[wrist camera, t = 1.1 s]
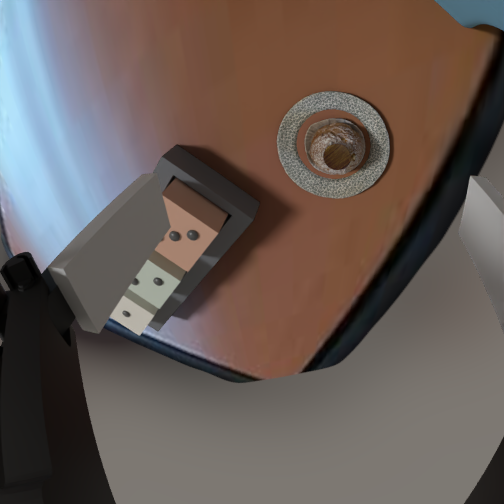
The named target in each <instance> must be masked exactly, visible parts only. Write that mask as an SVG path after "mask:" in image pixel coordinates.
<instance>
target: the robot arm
mask: <svg viewBox="0 0 504 504" xmlns="http://www.w3.org/2000/svg"><path fill="white" fill-rule="evenodd" d="M170 227H171V226H170V222H169V218H168V214H167V211H166V207H165V203H164V199H163V195H162V191H161V187H160V183H159V179H158V175H157V173H152V174H142V175H141V176H140V177H139V178H138V179H136V180H135V181H134V182H133V183H132V184H131V185H130V186H129V187H127V188H126V189H125V190H124V191H123V192H122V193H121V194H120V195H119V196H118V197H116V198H115V199H114V200H113V201H112V202H111V203H110V204H109V205H108V206H107V207H106V208H105V209H104V210H103V211H102V212H100V213H99V214H98V215H97V216H96V217H95V218H94V219H93V220H92V221H91V222H90V223H89V224H88V225H87V226H86V227H85V228H84V229H83V230H82V231H81V232H80V233H79V234H78V235H77V236H76V237H75V238H74V239H73V240H72V241H71V242H70V243H69V245H68V246H67V247H66V248H65V249H64V250H63V251H62V252H61V253H60V254H59V255H58V256H57V257H56V258H55V259H54V261H53V262H52V263H51V264H50V265H49V266H48V267H47V268H46V270H45V271H44V272H43V273H42V274H41V272H40V270H39V269H38V267H37V265H36V263H35V261H34V259H33V257H32V255H31V253H29V252H23V253H20V254H17V255H16V256H14V257H12V258H11V259H10V260H8V261H7V262H6V263H5V264H4V265H3V267H2V269H1V270H0V273H1V274H2V276H3V278H4V280H5V281H6V283H7V285H8V287H9V288H10V291H5V290H4V288H3V287H2V285H1V283H0V338H1V340H2V341H3V342H2V345H1V346H0V504H116V503H115V500H114V498H113V495H112V492H111V489H110V487H109V484H108V480H107V478H106V474H105V471H104V468H103V465H102V462H101V458H100V455H99V451H98V448H97V444H96V440H95V436H94V433H93V429H92V424H91V420H90V416H89V412H88V407H87V403H86V397H85V393H84V388H83V382H82V376H81V371H80V364H79V358H78V351H77V343H76V336H75V331H74V329H73V327H72V326H71V324H72V322H73V321H74V319H75V318H76V319H77V321H78V323H79V324H80V326H81V327H82V329H83V330H86V331H90V332H94V333H100V331H101V330H102V328H103V326H104V325H105V323H106V322H107V320H108V319H109V317H110V315H111V314H112V312H113V311H114V309H115V308H116V306H117V304H118V303H119V301H120V300H121V298H122V297H123V295H124V294H125V292H126V291H127V289H128V288H129V286H130V285H131V283H132V282H133V280H134V279H135V277H136V276H137V274H138V273H139V271H140V270H141V269H142V267H143V266H144V264H145V263H146V261H147V260H148V258H149V257H150V256H151V254H152V253H153V251H154V250H155V248H156V247H157V246H158V244H159V243H160V241H161V240H162V239H163V237H164V236H165V234H166V233H167V232H168V230H169V229H170ZM458 234H459V236H460V238H461V240H462V242H463V243H464V245H465V247H466V249H467V251H468V253H469V255H470V257H471V259H472V261H473V263H474V265H475V267H476V269H477V271H478V273H479V275H480V278H481V280H482V282H483V284H484V286H485V289H486V291H487V293H488V295H489V297H490V300H491V302H492V305H493V307H494V309H495V312H496V314H497V317H498V319H499V322H500V325H501V327H502V330H503V333H504V197H503V196H502V195H501V194H500V193H499V192H498V190H497V189H496V188H495V187H494V186H493V185H492V184H491V183H490V182H489V181H488V180H487V179H486V178H485V177H478V176H470V180H469V186H468V191H467V196H466V201H465V206H464V210H463V215H462V219H461V224H460V228H459V232H458ZM464 504H504V437H503V439H502V441H501V443H500V445H499V447H498V449H497V451H496V453H495V454H494V456H493V458H492V460H491V462H490V464H489V465H488V467H487V468H486V470H485V472H484V474H483V475H482V477H481V478H480V480H479V482H478V483H477V485H476V486H475V488H474V490H473V491H472V493H471V494H470V496H469V497H468V499H467V500H466V502H465V503H464Z"/></svg>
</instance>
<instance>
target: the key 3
mask: <svg viewBox="0 0 504 504" xmlns="http://www.w3.org/2000/svg"><path fill="white" fill-rule="evenodd" d="M162 195H163V199H164V203H165V207H166V211H167V214H168V218H169V222H170V226H171V227H170V229H169V230H168V232H167V233H166V234H165V236H164V237H163V239H162V240H161V241H160V243H159V244H158V246H157V247H156V248H155V251H157V252H158V253H160V254H161V255H163V256H164V257H166V258H167V259H169V260H170V261H172V262H173V263H175V264H176V265H178V266H179V267H181V268H182V269H184V270H185V271H187V272H188V271H189V270H190V269H191V267H192V266H193V265H194V264H195V262H196V261H197V260H198V259H199V257H200V256H201V255H202V253H203V252H204V251H205V250H206V248H207V247H208V246H209V245H210V243H211V242H212V241H213V240H214V238H215V237H216V236H217V235H218V233H219V231H220V229H221V227H222V225H223V223H224V221H225V219H226V217H227V215H228V213H227V212H225V211H224V210H223V209H221V208H220V207H218V206H217V205H215V204H214V203H212V202H211V201H210V200H208V199H207V198H205V197H204V196H202V195H201V194H199V193H198V192H197V191H195V190H194V189H192V188H191V187H189V186H188V185H186V184H185V183H183V182H182V181H180V180H179V179H178V178H175V179H174V181H173V182H172V183H171V184H170V185H169V186H168V187H167V188H166V189H165V190H164V191H163V192H162Z"/></svg>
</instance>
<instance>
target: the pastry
mask: <svg viewBox="0 0 504 504" xmlns="http://www.w3.org/2000/svg"><path fill="white" fill-rule="evenodd" d="M326 109H338V110H343V111H346V112H349V113H351V114H352V115H354V116H355V117H357V118H358V119H359V120H360V121H361V122H362V123H363V125H364V126H365V127H366V129H367V131H368V134H369V137H370V143H371V148H370V154H369V157H368V159H367V161H366V163H365V164H364V166H363V167H362V168H361V169H360V170H359V171H358V172H356V173H355V174H353V175H351V176H349V177H346V178H342V179H328V178H324V177H321V176H318V175H316V174H314V173H313V172H311V171H310V170H309V169H308V168H307V167H306V166H305V165H304V164H303V162H302V161H301V159H300V157H299V155H298V152H297V145H296V141H297V135H298V132H299V129H300V127H301V125H302V124H303V123H304V122H305V120H306V119H307V118H309V117H310V116H311V115H313V114H315V113H316V112H319V111H322V110H326ZM351 128H352V129H351ZM353 129H354V130H355V131H354V130H353ZM277 148H278V153H279V159H280V161H281V163H282V166H283V167H284V169H285V171H286V173H287V174H288V176H289V177H290V178H291V179H292V180H293V181H294V182H295V183H296V184H297V185H298V186H300V187H301V188H302V189H304V190H306V191H308V192H311V193H313V194H315V195H318V196H322V197H328V198H345V197H350V196H354V195H356V194H359V193H360V192H362V191H364V190H366V189H367V188H369V187H370V186H372V185H373V184H374V183H375V182H376V180H377V179H378V178H379V177H380V176H381V175H382V173H383V171H384V169H385V167H386V165H387V162H388V159H389V152H390V144H389V135H388V132H387V129H386V127H385V124H384V122H383V120H382V118H381V117H380V115H379V114H378V113H377V111H376V110H375V109H374V108H373V107H372V106H370V105H369V104H368V103H366V102H365V101H363V100H361V99H360V98H358V97H356V96H353V95H351V94H348V93H343V92H336V91H326V92H319V93H315V94H312V95H310V96H307V97H305V98H304V99H302V100H300V101H299V102H298V103H297V104H295V105H294V106H293V107H292V108H291V109H290V110H289V111H288V113H287V114H286V115H285V117H284V118H283V121H282V123H281V125H280V127H279V131H278V136H277ZM305 151H306V153H307V158H308V160H309V162H310V163H311V164H312V166H313V167H314V168H316V169H318V170H319V171H322V172H324V173H327V174H334V175H335V174H339V175H342V174H346V173H348V172H350V171H352V170H353V169H354V168H356V167H357V166H358V165H359V164H360V162H361V161H362V159H363V157H364V153H365V140H364V136H363V134H362V131H360V129H359V128H358V127H357V126H356V125H354V124H352V123H351V122H350V121H348V120H343V119H334V118H333V119H326V120H323V121H320V122H317V123H314V124H313V125H311V126H310V127H309V129H308V131H307V134H306V137H305Z"/></svg>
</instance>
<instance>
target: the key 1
mask: <svg viewBox="0 0 504 504" xmlns="http://www.w3.org/2000/svg"><path fill="white" fill-rule="evenodd" d="M157 310H158V308H157V307H155V306H154V305H152V304H151V303H149V302H148V301H146V300H145V299H143V298H142V297H140V296H139V295H137V294H136V293H134V292H133V291H131V290H130V289H127V291H126V292H125V294H124V295H123V297H122V298H121V300H120V301H119V303H118V304H117V306H116V308H115V309H114V311H113V312H112V314H111V315H110V317H111V318H113V319H114V320H116V321H117V322H119V323H120V324H122V325H124V326H125V327H127V328H128V329H130V330H131V331H133V332H134V333H136V334H138V335H139V336H140V334H141V333H142V332H143V330H144V329H145V328H146V326H147V325H148V324H149V322H150V321H151V320H152V318H153V317H154V316H155V314H156V312H157Z"/></svg>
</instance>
